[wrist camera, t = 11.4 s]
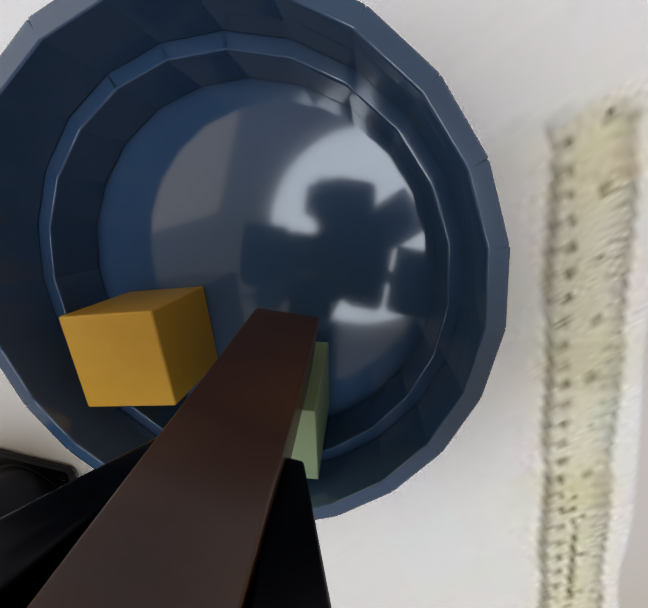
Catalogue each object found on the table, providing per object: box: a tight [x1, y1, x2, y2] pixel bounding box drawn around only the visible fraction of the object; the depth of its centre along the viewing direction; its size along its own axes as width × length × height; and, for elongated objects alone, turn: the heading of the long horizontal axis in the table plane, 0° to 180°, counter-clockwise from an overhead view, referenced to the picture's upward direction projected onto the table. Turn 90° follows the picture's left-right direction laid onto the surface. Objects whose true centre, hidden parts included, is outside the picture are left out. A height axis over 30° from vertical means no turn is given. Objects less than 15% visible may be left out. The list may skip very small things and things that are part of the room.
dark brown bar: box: [27, 308, 319, 608], centre depth 7 cm, size 2×2×12 cm
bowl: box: [0, 0, 510, 520], centre depth 13 cm, size 18×18×6 cm
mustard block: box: [59, 286, 218, 407], centre depth 15 cm, size 4×4×4 cm
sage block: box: [291, 342, 329, 479], centre depth 14 cm, size 4×4×4 cm
